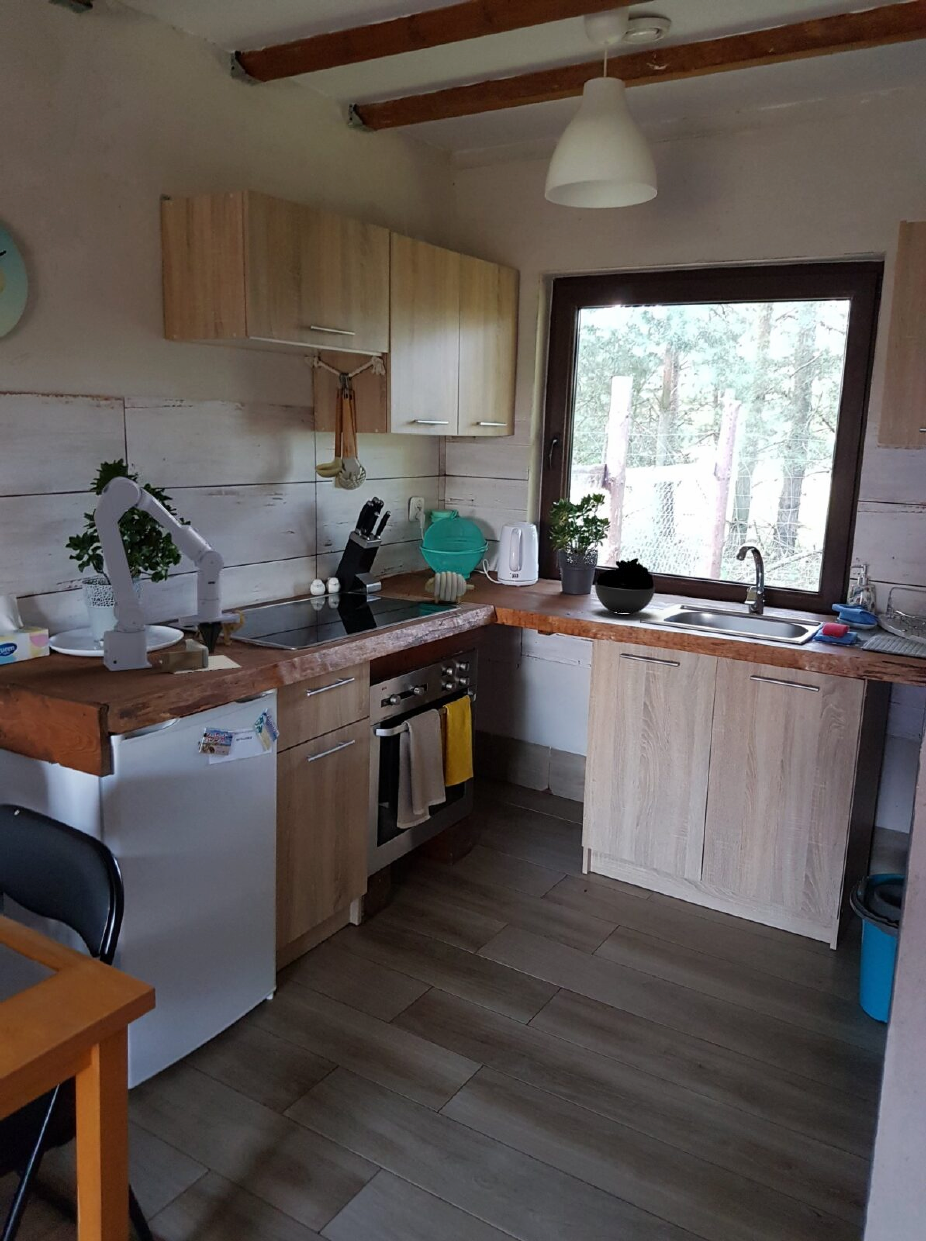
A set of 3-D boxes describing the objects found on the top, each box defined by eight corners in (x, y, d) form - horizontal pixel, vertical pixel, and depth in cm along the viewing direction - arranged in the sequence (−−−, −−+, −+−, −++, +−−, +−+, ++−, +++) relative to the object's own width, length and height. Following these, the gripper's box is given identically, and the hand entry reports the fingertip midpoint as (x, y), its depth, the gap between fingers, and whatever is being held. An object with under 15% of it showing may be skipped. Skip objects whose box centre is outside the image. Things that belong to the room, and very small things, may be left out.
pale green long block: (209, 666, 224) (209, 648, 223) (203, 667, 223) (203, 649, 222) (191, 656, 233) (191, 639, 232) (185, 656, 232) (185, 639, 231)
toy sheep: (422, 599, 330) (424, 568, 328) (470, 600, 332) (472, 569, 330) (425, 605, 320) (427, 573, 318) (475, 606, 322) (476, 574, 320)
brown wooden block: (165, 673, 217) (164, 654, 217) (160, 669, 220) (160, 651, 220) (203, 669, 222) (203, 651, 221) (198, 666, 225) (198, 648, 224)
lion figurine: (247, 641, 254) (247, 609, 252) (241, 646, 249) (241, 612, 247) (193, 639, 255) (193, 606, 253) (186, 643, 249) (186, 609, 248)
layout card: (174, 674, 218) (174, 673, 218) (159, 661, 229) (159, 660, 229) (241, 667, 227) (241, 666, 227) (223, 655, 237) (223, 655, 237)
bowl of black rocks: (617, 621, 306) (621, 564, 302) (581, 610, 323) (585, 555, 320) (665, 618, 316) (670, 562, 312) (627, 607, 333) (632, 554, 329)
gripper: (233, 593, 236) (234, 646, 239) (174, 597, 229) (175, 651, 231) (242, 598, 230) (242, 652, 233) (182, 602, 223) (183, 658, 225)
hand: (210, 652), depth 232 cm, fingers closed
